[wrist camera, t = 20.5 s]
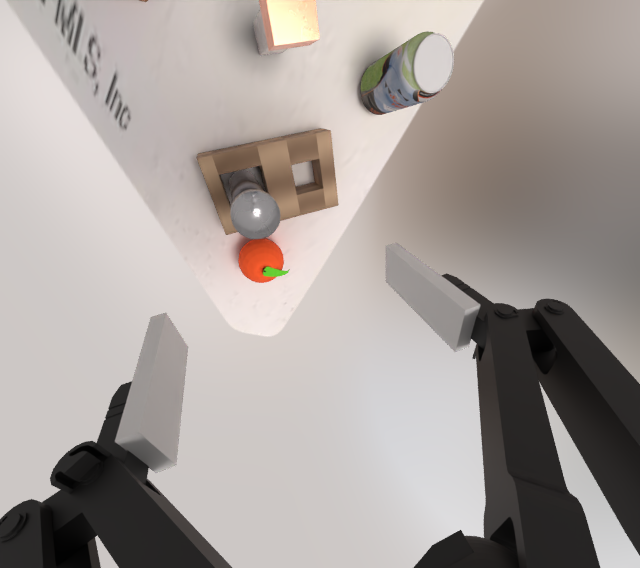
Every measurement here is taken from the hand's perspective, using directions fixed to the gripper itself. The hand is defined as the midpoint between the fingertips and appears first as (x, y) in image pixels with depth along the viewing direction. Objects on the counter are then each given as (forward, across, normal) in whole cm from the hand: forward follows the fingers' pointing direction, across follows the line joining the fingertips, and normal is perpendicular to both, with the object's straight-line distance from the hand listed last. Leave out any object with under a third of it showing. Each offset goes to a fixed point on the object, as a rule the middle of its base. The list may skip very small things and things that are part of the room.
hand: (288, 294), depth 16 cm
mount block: (+29, +4, 0) cm, 29 cm away
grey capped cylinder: (+29, 0, 0) cm, 29 cm away
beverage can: (+29, +22, +9) cm, 37 cm away
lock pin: (+29, +8, +15) cm, 33 cm away
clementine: (+29, 0, -11) cm, 31 cm away
